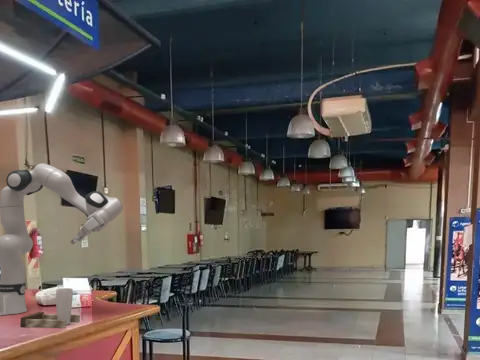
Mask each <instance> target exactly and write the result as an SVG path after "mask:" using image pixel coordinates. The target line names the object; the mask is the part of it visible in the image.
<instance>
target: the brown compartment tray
mask: <svg viewBox="0 0 480 360" xmlns="http://www.w3.org/2000/svg"><path fill="white" fill-rule="evenodd" d="M80 322H81V315H80V314H71V317H70V323H80ZM19 323H20V328H38V327H39V328H43V329H44V328H45V329H47V328H49V329H65V328H66V327H67V325H66V320H57V313H56V314H53V313H52V314H51V313H48V314H47V313H45V311H37V312H34V313H31V314H27V315H24V316H21V317H20V322H19ZM39 328H38V329H39Z"/></svg>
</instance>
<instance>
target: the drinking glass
mask: <svg viewBox="0 0 480 360" xmlns="http://www.w3.org/2000/svg"><path fill="white" fill-rule="evenodd" d="M55 292H56V293H55V306H56V307H55V308H56V314H57V320H66V326H68V325H70V324H71V322H70V317H71V315H72V308H73V307H72V306H73V296H74V295H73V294H74V292H73V288H71V287H68V288H64V287H63V288H58V289H56V290H55Z"/></svg>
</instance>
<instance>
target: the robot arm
mask: <svg viewBox="0 0 480 360" xmlns="http://www.w3.org/2000/svg"><path fill="white" fill-rule="evenodd" d="M5 181H6V185H7V186H5V187H3V188H2V189H1V192H0V224H1V226H2V227H3V228H4V231H5V234H3V235H1V236H0V316H7V315H14V314H15V315H17V314H22V313H25V312H28V307H27V304H26V297H25V294H26V285H27V284H26V266H25V265H24V263H23V261H22V255H25V254H27V253H29V252H30V251H31V250H32V249H33V245H34V241H33V239H32V237H31V235H29V231H28V228H27V224H26V220H25V219H26V217H25V204H24V198H25V196H29V195H32V194H36V193H37V192H39V191H41V190H42V189H43V188H44V187H45V188H46V189H49V190H50V191H51V192H54V194H56V195H58V196H60V198H62V199H63V200H64V201H66V202H67V203H69V204H70V205H72V206H73V207H74V208H76V209H78V210H79V211H80V212H82V213H83V214H84V215H85V216H86V221H85V223H84V225H83V226H82V227H81V228H80V229H79V231H78V232H77V233H76V235H74V237H73V239H71V241H70V244H71V245H74V244H75V243H77V242H78V241H79V242H82V240H84V239H85V238H87V237H88V236H89V235H90V234H91V233H92V232H93V233H95V232H100V231H102V230H103V229H104V228H105V227H107V226H108V224H109V223H111V222H112V221H113V220H115V219H116V218H117V217H118V216H119V215H120V214H122V212H123V204H122V202H121V200H120V199H119V198H118V197H110V196H108V195H105V194H103V193H102V192H101V191H97V190H94V191H91V192H89V193H88V194H86V196H85V198H84V197H83V196H82V195H80V193H78V192H77V190H76V188H75V185H74V184H73V182H72V179H71V178H70V176H69V175H68V174H66V172H64V171H62V170H61V169H59V168H57V167H55V166H52V165H50V164H48V163H43V162H42V163H38V164H36V165H35V166H34V167H33V169H32V170H28V169H18V170H12V171H10V172H9V173H8V174H7V176H6V179H5Z"/></svg>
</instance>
